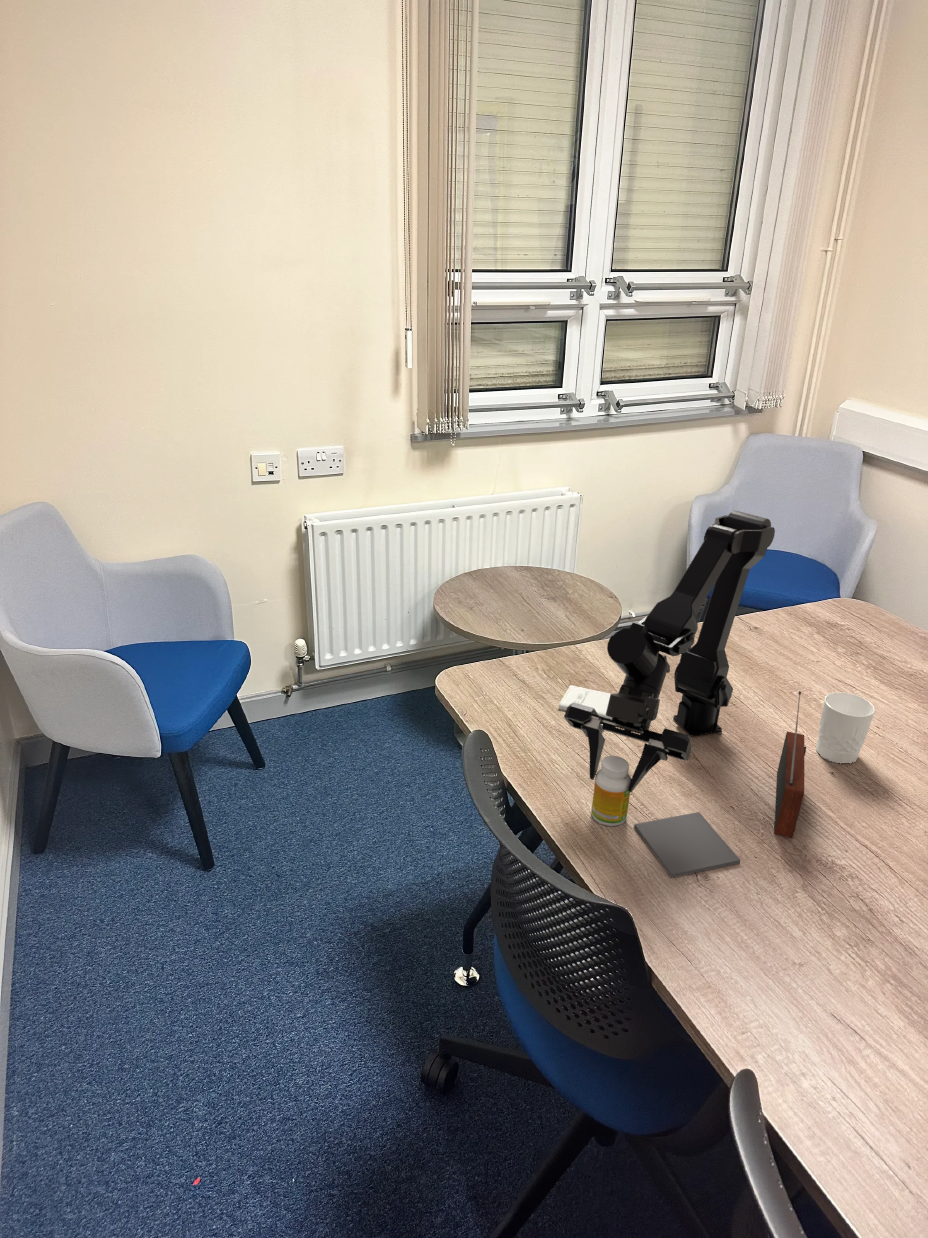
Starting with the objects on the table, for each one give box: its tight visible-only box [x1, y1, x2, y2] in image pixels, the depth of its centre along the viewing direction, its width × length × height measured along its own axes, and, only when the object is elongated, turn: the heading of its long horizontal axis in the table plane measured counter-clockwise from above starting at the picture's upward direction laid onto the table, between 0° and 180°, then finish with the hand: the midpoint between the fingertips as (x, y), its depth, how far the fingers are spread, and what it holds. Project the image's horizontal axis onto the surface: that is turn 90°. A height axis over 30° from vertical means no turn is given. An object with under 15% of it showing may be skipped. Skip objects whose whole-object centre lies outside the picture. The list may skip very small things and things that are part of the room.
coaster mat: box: [633, 811, 741, 878], centre depth 122 cm, size 11×11×1 cm
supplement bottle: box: [590, 755, 632, 827], centre depth 125 cm, size 5×5×10 cm
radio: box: [773, 690, 807, 839], centre depth 129 cm, size 19×3×15 cm, turn 160°
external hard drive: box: [558, 684, 612, 719], centre depth 156 cm, size 2×8×12 cm
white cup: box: [815, 691, 876, 765], centre depth 143 cm, size 8×8×10 cm
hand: (610, 785), depth 124 cm, fingers open, 6 cm apart
